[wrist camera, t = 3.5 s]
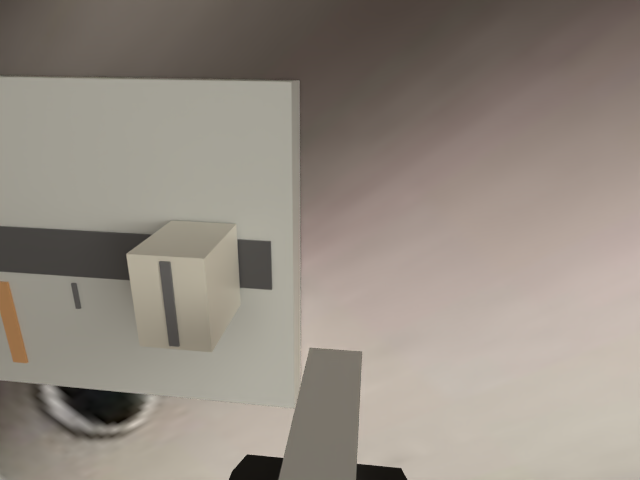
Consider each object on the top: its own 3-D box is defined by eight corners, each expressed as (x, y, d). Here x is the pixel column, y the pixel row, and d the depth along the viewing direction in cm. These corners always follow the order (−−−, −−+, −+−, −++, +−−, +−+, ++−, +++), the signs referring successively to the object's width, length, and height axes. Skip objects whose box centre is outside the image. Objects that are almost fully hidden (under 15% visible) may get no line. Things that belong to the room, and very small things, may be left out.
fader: (171, 220, 21) (124, 254, 17) (236, 223, 21) (203, 259, 17) (180, 299, 22) (138, 347, 19) (240, 304, 22) (211, 353, 18)
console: (-145, 73, 23) (-255, 74, 19) (299, 80, 20) (280, 83, 16) (-56, 351, 28) (-126, 397, 24) (300, 384, 26) (286, 440, 22)
